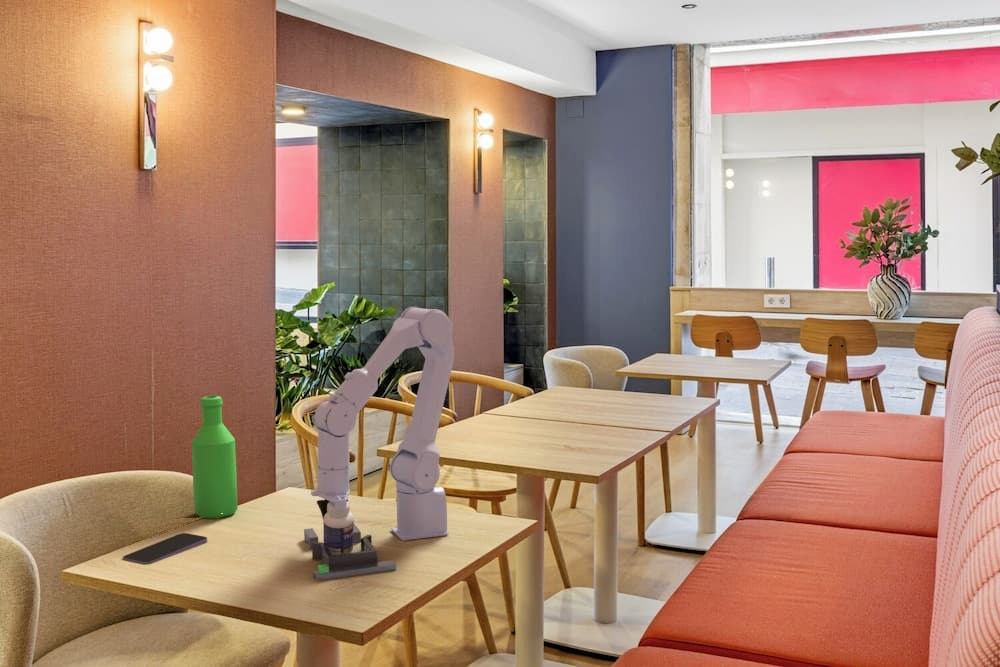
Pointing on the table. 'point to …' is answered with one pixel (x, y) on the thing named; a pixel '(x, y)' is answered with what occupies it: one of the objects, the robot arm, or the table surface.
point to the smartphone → (166, 548)
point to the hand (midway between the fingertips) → (332, 538)
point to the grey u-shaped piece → (312, 537)
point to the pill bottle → (338, 530)
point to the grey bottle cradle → (348, 561)
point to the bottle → (214, 464)
